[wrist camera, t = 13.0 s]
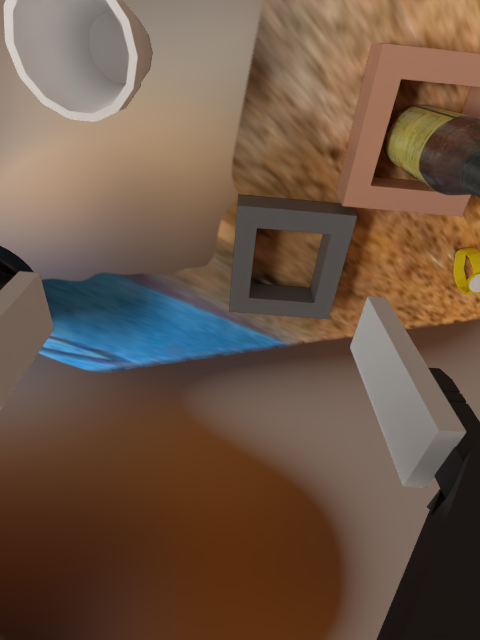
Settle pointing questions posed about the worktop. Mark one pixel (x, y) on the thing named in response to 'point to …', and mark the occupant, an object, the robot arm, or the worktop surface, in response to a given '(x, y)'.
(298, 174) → the worktop surface
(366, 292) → the worktop surface
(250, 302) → the holder
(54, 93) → the foam cup
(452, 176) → the sauce bottle
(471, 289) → the watch
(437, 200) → the holder
